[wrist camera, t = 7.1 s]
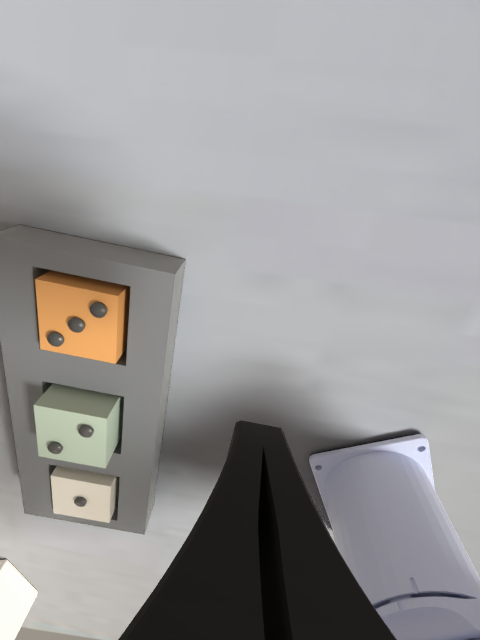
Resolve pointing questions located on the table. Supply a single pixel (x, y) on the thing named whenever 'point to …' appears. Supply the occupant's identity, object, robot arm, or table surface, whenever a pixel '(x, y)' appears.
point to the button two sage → (78, 425)
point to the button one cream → (84, 494)
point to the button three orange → (82, 316)
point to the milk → (13, 600)
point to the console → (90, 362)
